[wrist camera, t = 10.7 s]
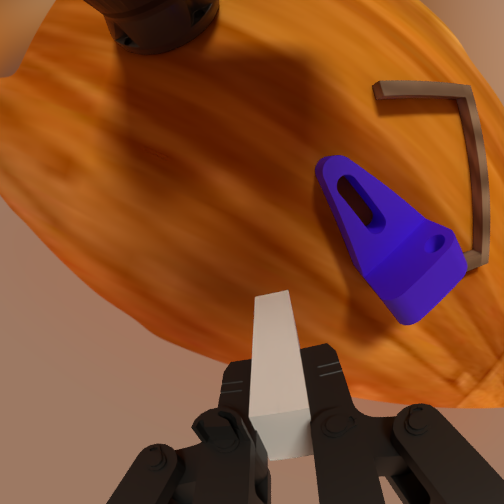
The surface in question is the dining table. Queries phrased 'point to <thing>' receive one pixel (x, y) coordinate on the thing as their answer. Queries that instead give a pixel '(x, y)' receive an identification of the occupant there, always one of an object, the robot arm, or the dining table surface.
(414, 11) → the dining table surface
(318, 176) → the bracket
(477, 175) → the handle
